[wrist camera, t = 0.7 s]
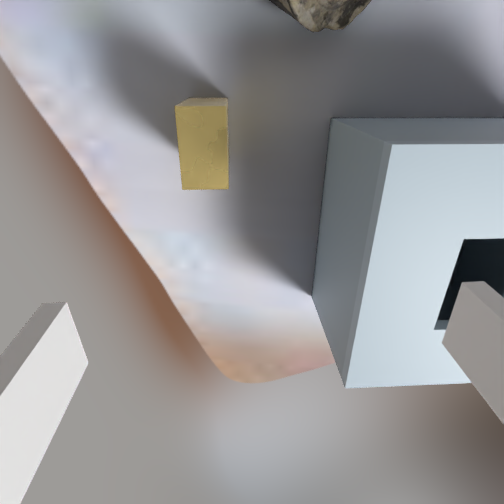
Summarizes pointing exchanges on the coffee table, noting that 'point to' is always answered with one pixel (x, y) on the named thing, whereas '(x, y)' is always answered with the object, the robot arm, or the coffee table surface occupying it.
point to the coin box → (405, 241)
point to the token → (203, 143)
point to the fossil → (322, 12)
